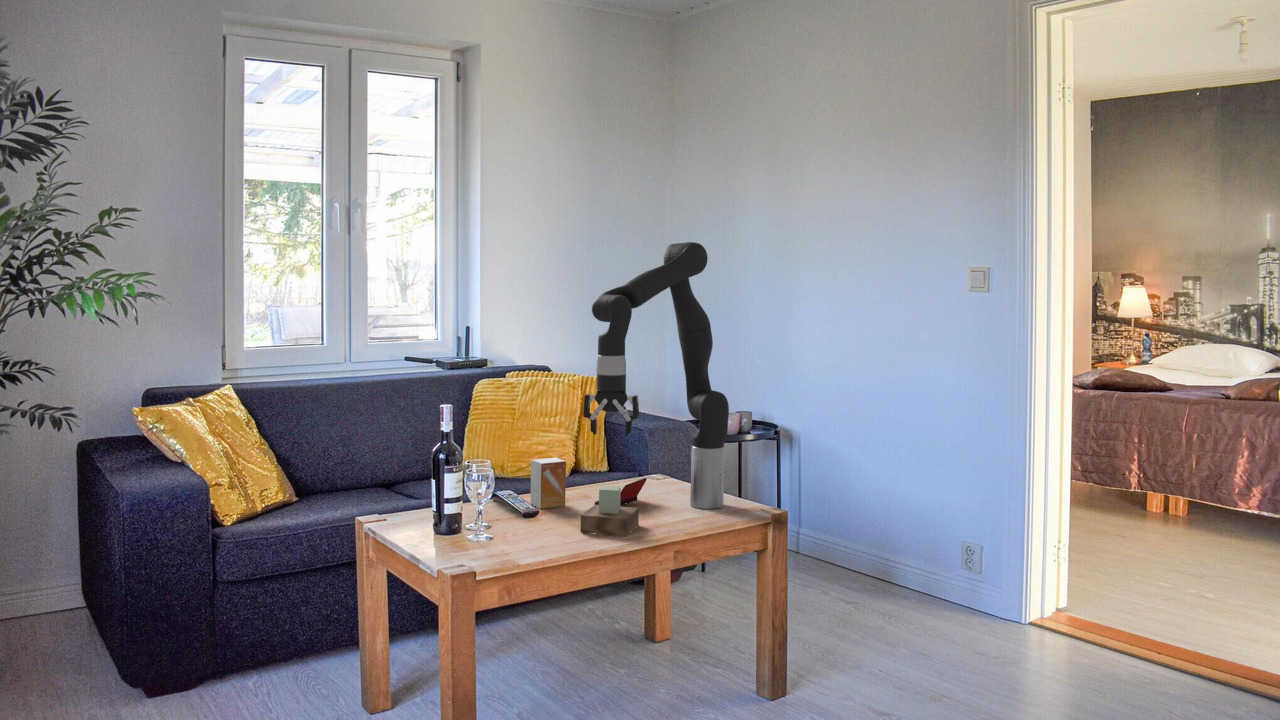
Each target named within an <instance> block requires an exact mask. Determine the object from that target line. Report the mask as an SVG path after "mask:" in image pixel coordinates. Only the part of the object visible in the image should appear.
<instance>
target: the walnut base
mask: <svg viewBox="0 0 1280 720" xmlns="http://www.w3.org/2000/svg"><path fill="white" fill-rule="evenodd" d="M639 511H640V509H639V507H629V506H621V507H620V511H619V513H618V514H617V513H599V505H595V504H594V505H592V506H591V507H589V509H587V510H586V511H584V512H583V513H582V514H581V515H580V533H581V532H583V533H582V534H588V533H596V534H595V535H599V534H602V535H601V536H610V535H612V536H613V537H623V538H627V536H629V535H630V534H631V533H632V532H633V531H634V530H635V529H636V528H637V527H638V526H639V518H640V517H639V516H640V515H639V514H640V513H639ZM637 525H638V526H637ZM636 526H637V527H636ZM635 527H636V528H635ZM634 528H635V529H634ZM633 529H634V530H633ZM632 530H633V531H632ZM631 531H632V532H631ZM630 532H631V533H630ZM629 533H630V534H629ZM628 534H629V535H628Z"/></svg>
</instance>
